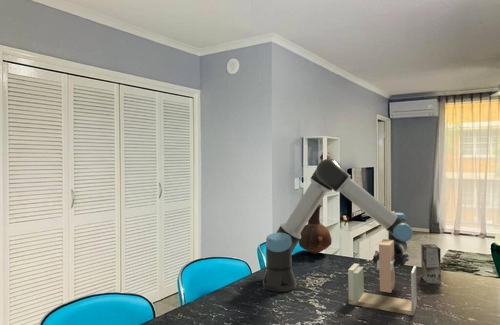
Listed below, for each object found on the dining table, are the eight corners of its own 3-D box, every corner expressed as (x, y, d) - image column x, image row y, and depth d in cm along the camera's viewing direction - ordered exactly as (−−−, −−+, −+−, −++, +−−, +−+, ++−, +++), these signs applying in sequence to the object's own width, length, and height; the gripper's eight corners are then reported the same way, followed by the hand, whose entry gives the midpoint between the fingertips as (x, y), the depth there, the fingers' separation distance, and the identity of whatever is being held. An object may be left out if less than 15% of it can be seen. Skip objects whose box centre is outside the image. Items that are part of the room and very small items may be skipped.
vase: (292, 250, 232) (292, 203, 232) (321, 247, 237) (320, 201, 237) (307, 260, 208) (307, 208, 208) (339, 257, 213) (338, 206, 213)
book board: (348, 303, 145) (348, 299, 145) (355, 294, 155) (355, 291, 155) (413, 315, 133) (413, 311, 133) (416, 305, 143) (416, 301, 143)
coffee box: (441, 283, 166) (441, 248, 166) (426, 283, 167) (425, 248, 167) (435, 277, 175) (435, 244, 175) (421, 276, 176) (420, 243, 176)
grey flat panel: (411, 310, 134) (411, 272, 134) (414, 301, 143) (413, 265, 143) (413, 311, 134) (413, 273, 133) (416, 301, 142) (416, 266, 142)
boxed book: (379, 291, 140) (378, 244, 140) (384, 283, 148) (383, 239, 148) (390, 292, 138) (389, 245, 138) (394, 284, 146) (393, 240, 146)
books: (348, 299, 146) (348, 269, 145) (354, 291, 154) (354, 263, 154) (358, 301, 144) (357, 271, 144) (363, 292, 152) (363, 264, 152)
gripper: (415, 262, 154) (409, 279, 134) (373, 258, 163) (361, 272, 142) (415, 245, 154) (408, 258, 134) (373, 241, 163) (361, 253, 142)
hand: (384, 266), depth 138 cm, fingers closed on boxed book, 4 cm apart
